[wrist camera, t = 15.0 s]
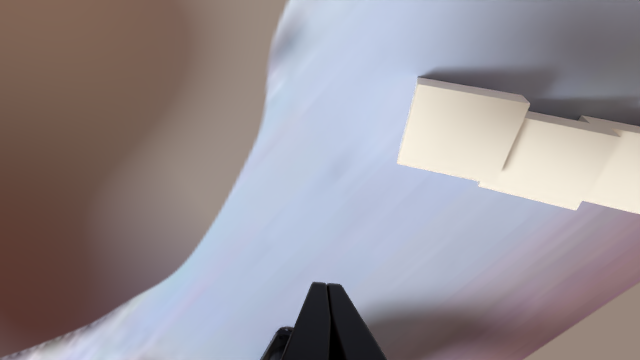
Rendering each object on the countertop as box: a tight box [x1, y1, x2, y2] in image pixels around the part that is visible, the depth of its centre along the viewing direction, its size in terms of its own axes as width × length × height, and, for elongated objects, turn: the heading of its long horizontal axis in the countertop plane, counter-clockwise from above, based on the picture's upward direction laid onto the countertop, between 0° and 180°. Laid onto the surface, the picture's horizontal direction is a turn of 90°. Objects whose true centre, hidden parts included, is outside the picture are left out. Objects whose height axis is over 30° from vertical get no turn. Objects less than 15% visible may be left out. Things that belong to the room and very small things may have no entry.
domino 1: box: [397, 77, 530, 185], centre depth 19 cm, size 2×5×5 cm
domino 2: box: [478, 111, 621, 210], centre depth 20 cm, size 2×5×5 cm
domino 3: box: [578, 115, 640, 214], centre depth 20 cm, size 2×5×5 cm
